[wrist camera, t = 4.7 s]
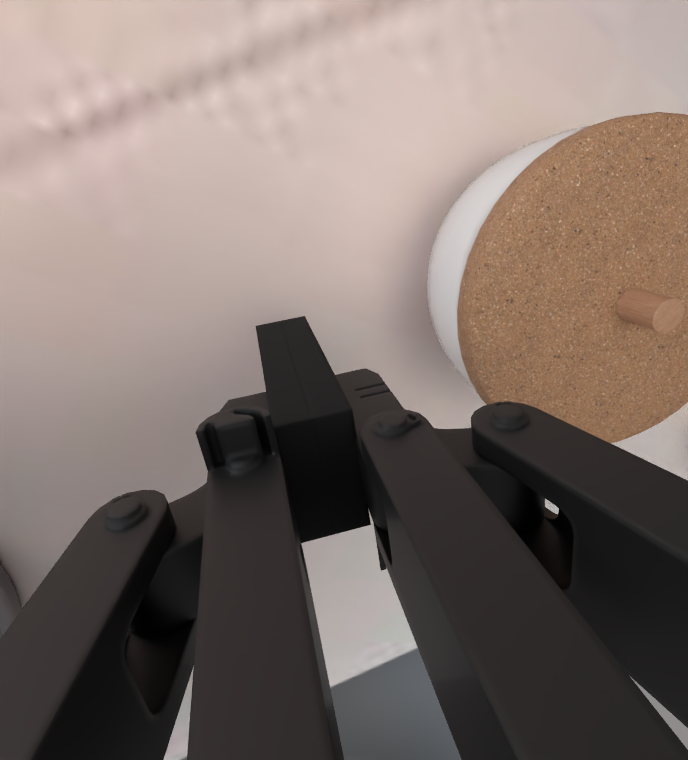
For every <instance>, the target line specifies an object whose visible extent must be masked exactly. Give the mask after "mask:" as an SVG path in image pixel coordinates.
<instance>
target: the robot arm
mask: <svg viewBox="0 0 688 760" xmlns="http://www.w3.org/2000/svg"><path fill="white" fill-rule="evenodd" d="M256 330H257V337H258V343H259V349H260V355H261V361H262V367H263V374H264V380H265V386H266V392H263V393H259V394H254V395H250V396H245V397H241V398H236V399H232V400H228V402H227V403H226V404H225V405H224V407H223V408H222V409H221V410H220V412H218V413H216V414H214V415H212V416H210V417H208V418H207V419H206V420H205V421H203V422H202V423H201V424H200V425H199V427H198V429H197V431H196V435H197V438H198V441H199V444H200V448H201V451H202V454H203V457H204V460H205V464H206V467H207V470H208V478H207V483H206V484H205V485H203V486H202V487H200V488H199V489H198V490H196V491H194V492H192V493H191V494H189V495H187V496H185V497H182V498H180V499H178V500H176V501H173V502H171V503H169V504H168V502H167V500H166V498H165V496H164V494H162V493H160V492H158V491H155V490H141V491H136V492H130V493H126V494H123V495H122V496H118V497H116V498H114V499H112V500H111V501H110V502H108V503H107V504H105V505H104V506H102V507H100V508H99V509H98V510H97V511H96V512H95V513H94V514H93V515H92V516H91V517H90V518H89V519H88V520H87V522H86V523H85V524H84V526H83V527H82V529H81V530H80V531H79V533H78V534H77V535H76V537H75V538H74V539H73V541H72V542H71V543H70V545H69V546H68V548H67V549H66V550H65V552H64V553H63V554H62V556H61V557H60V558H59V560H58V561H57V563H56V564H55V565H54V567H53V568H52V569H51V571H50V572H49V573H48V575H47V576H46V577H45V579H44V580H43V582H42V583H41V584H40V586H39V587H38V588H37V590H36V591H35V592H34V594H33V595H32V596H31V598H30V599H29V601H28V602H27V603H26V605H25V606H24V607H23V609H22V610H21V608H20V603H19V599H18V596H17V593H16V590H15V588H14V586H13V584H12V582H11V580H10V578H9V577H8V575H7V574H6V572H5V570H4V569H3V567H2V566H1V565H0V760H163V759H164V756H165V753H166V750H167V747H168V743H169V740H170V737H171V734H172V731H173V728H174V725H175V722H176V718H177V715H178V712H179V709H180V706H181V703H182V700H183V697H184V694H185V690H186V687H187V684H188V681H189V678H190V675H191V672H192V669H193V666H194V671H193V685H192V699H191V712H190V726H189V740H188V754H187V760H344V757H343V752H342V747H341V742H340V737H339V731H338V726H337V721H336V717H335V711H334V706H333V701H332V696H331V690H330V685H329V680H328V675H327V670H326V665H325V660H324V655H323V649H322V644H321V639H320V634H319V629H318V624H317V619H316V614H315V609H314V603H313V598H312V593H311V588H310V583H309V578H308V573H307V568H306V562H305V558H304V554H303V550H302V545H301V543H303V542H307V541H311V540H314V539H318V538H322V537H326V536H329V535H333V534H337V533H341V532H344V531H348V530H352V529H356V528H360V527H363V526H367V525H371V524H370V517H369V511H370V514H371V516H372V519H373V522H374V529H375V535H376V542H377V548H378V555H379V561H380V567H381V570H384V569H386V567H387V570H388V572H389V575H390V577H391V580H392V582H393V585H394V588H395V590H396V593H397V595H398V598H399V600H400V603H401V606H402V608H403V611H404V613H405V616H406V618H407V621H408V623H409V626H410V629H411V631H412V634H413V636H414V639H415V641H416V644H417V646H418V649H419V652H420V654H421V656H422V659H423V662H424V664H425V667H426V669H427V672H428V675H429V677H430V679H431V682H432V685H433V687H434V690H435V693H436V695H437V698H438V700H439V703H440V705H441V708H442V710H443V713H444V716H445V718H446V721H447V723H448V726H449V728H450V731H451V733H452V736H453V739H454V741H455V744H456V746H457V749H458V751H459V754H460V757H461V759H462V760H688V750H687V749H686V747H685V746H684V745H683V743H682V742H681V741H680V740H679V738H678V737H677V736H676V735H675V733H674V732H673V731H672V729H671V728H670V727H669V726H668V724H667V723H666V722H665V721H664V719H663V718H662V717H661V716H660V714H659V713H658V712H657V710H656V709H655V708H654V707H653V705H652V704H651V703H650V702H649V700H648V699H647V698H646V697H645V695H644V694H643V693H642V691H641V690H640V689H639V688H638V686H637V685H636V684H635V683H634V681H633V680H632V679H631V678H630V676H631V677H632V678H633V679H634V680H635V681H636V682H637V683H638V684H639V685H641V686H642V687H643V688H644V689H645V690H646V691H647V692H648V693H649V694H651V695H652V696H653V697H654V698H655V699H656V700H657V701H658V702H660V703H661V704H662V705H663V706H664V707H665V708H666V709H667V710H668V711H670V712H671V713H672V714H673V715H674V716H675V717H676V718H677V719H678V720H680V721H681V722H682V723H683V724H684V725H685V726H686V727H687V728H688V481H687V480H685V479H683V478H681V477H679V476H677V475H675V474H673V473H671V472H669V471H667V470H664V469H662V468H660V467H658V466H656V465H654V464H652V463H650V462H648V461H646V460H644V459H642V458H640V457H637V456H635V455H633V454H631V453H629V452H627V451H625V450H623V449H621V448H619V447H617V446H615V445H612V444H610V443H608V442H606V441H604V440H602V439H600V438H598V437H596V436H594V435H592V434H590V433H588V432H585V431H583V430H581V429H579V428H577V427H575V426H573V425H571V424H569V423H567V422H565V421H563V420H561V419H558V418H556V417H554V416H552V415H550V414H548V413H546V412H544V411H542V410H540V409H538V408H536V407H533V406H530V405H527V404H523V403H515V402H511V401H504V402H496V403H493V404H489V405H485V406H483V407H481V408H479V409H478V410H476V411H475V412H474V414H473V415H472V417H471V428H464V429H435V428H433V427H432V425H431V424H430V423H429V421H428V420H427V419H426V418H425V417H423V416H422V415H421V414H419V413H417V412H413V411H410V410H404V408H403V407H402V406H401V404H400V403H399V402H398V400H397V399H396V397H395V396H394V395H393V393H392V392H390V389H389V388H388V387H387V385H386V384H385V382H384V381H383V380H382V378H381V377H380V376H379V374H377V373H375V372H372V371H370V370H368V369H360V370H356V371H351V372H347V373H342V374H338V375H334V373H333V371H332V369H331V367H330V365H329V363H328V361H327V359H326V357H325V355H324V353H323V351H322V349H321V347H320V345H319V343H318V341H317V340H316V338H315V336H314V334H313V332H312V330H311V328H310V326H309V324H308V322H307V320H306V318H305V316H303V317H298V318H293V319H288V320H283V321H278V322H274V323H269V324H264V325H259V326H256ZM545 499H547V500H548V501H550V502H551V503H553V504H554V505H556V506H557V507H558V508H559V513H558V515H557V514H555V513H553V512H552V511H550V510H549V509H547V508H546V507H545ZM368 509H369V511H368Z"/></svg>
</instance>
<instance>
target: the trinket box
mask: <svg viewBox="0 0 688 760" xmlns="http://www.w3.org/2000/svg"><path fill="white" fill-rule="evenodd" d="M427 293H428V306H429V311H430V316H431V321H432V324H433V326H434V329H435V332H436V334H437V337H438V339H439V341H440V344H441V346H442V348H443V350H444V351H445V353H446V355H447V356H448V358H449V359H450V361H451V363H452V364H453V365H454V367H455V368H456V370H457V371H458V372H459V374H460V375H461V376H462V377H463V378H464V379H465V380H466V382H467V383H468V384H469V385H470V386H471V387H472V388H473V389H474V390H475V391H476V392H477V393H478V394H479V396H480V397H481V398H482V400H483V401H484V402H485V403H486V404H487V405H489V404H493V403H496V402H504V401H511V402H515V403H523V404H527V405H530V406H533V407H536V408H538V409H540V410H542V411H544V412H546V413H548V414H550V415H552V416H554V417H556V418H558V419H561V420H563V421H565V422H567V423H569V424H571V425H573V426H575V427H577V428H579V429H581V430H583V431H585V432H588V433H590V434H592V435H594V436H596V437H598V438H600V439H602V440H604V441H606V442H608V443H613V442H617V441H621V440H623V439H626V438H628V437H631V436H633V435H636V434H638V433H641V432H643V431H645V430H647V429H649V428H650V427H652V426H654V425H656V424H658V423H660V422H661V421H663V420H664V419H666V418H667V417H669V416H670V415H672V414H673V413H674V412H676V411H677V410H679V409H680V408H681V407H682V406H684V405H685V404H686V403H687V402H688V115H685V114H675V113H662V112H656V113H648V114H640V115H632V116H624V117H618V118H614V119H611V120H607V121H604V122H601V123H598V124H595V125H592V126H585V127H580V128H575V129H571V130H567V131H564V132H561V133H558V134H554V135H551V136H548V137H545V138H542V139H540V140H537V141H534V142H531V143H529V144H528V145H526V146H524V147H522V148H520V149H518V150H516V151H514V152H512V153H510V154H508V155H507V156H505V157H503V158H502V159H500V160H499V161H497V162H496V163H494V164H493V165H492V166H490V167H489V168H488V169H486V170H485V171H483V172H482V173H481V174H480V175H479V176H478V177H477V178H476V179H475V180H474V181H473V182H472V183H471V184H470V185H469V186H468V187H467V188H466V189H465V191H464V192H463V193H462V194H461V196H460V197H459V198H458V200H457V201H456V202H455V204H454V205H453V206H452V208H451V209H450V211H449V213H448V214H447V216H446V218H445V220H444V221H443V223H442V225H441V227H440V229H439V232H438V234H437V237H436V239H435V242H434V245H433V249H432V253H431V257H430V261H429V268H428V278H427Z"/></svg>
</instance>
